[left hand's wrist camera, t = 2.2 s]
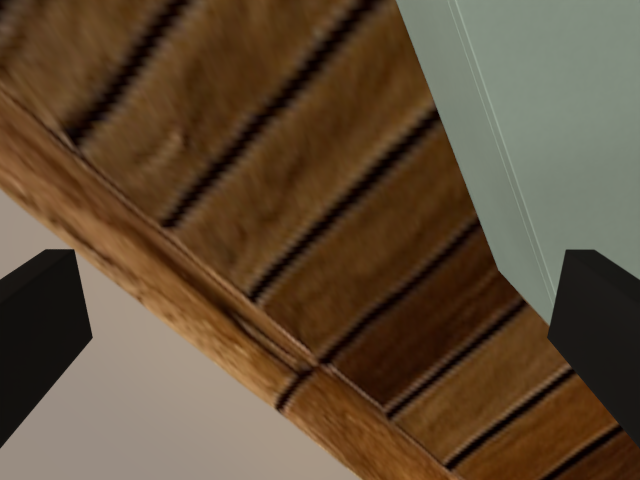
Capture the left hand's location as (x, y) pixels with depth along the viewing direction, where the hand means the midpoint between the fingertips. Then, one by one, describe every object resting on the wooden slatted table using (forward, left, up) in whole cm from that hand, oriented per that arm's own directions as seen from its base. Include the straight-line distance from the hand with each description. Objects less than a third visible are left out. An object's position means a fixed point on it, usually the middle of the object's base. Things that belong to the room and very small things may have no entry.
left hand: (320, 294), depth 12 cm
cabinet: (-12, +9, -22) cm, 27 cm away
